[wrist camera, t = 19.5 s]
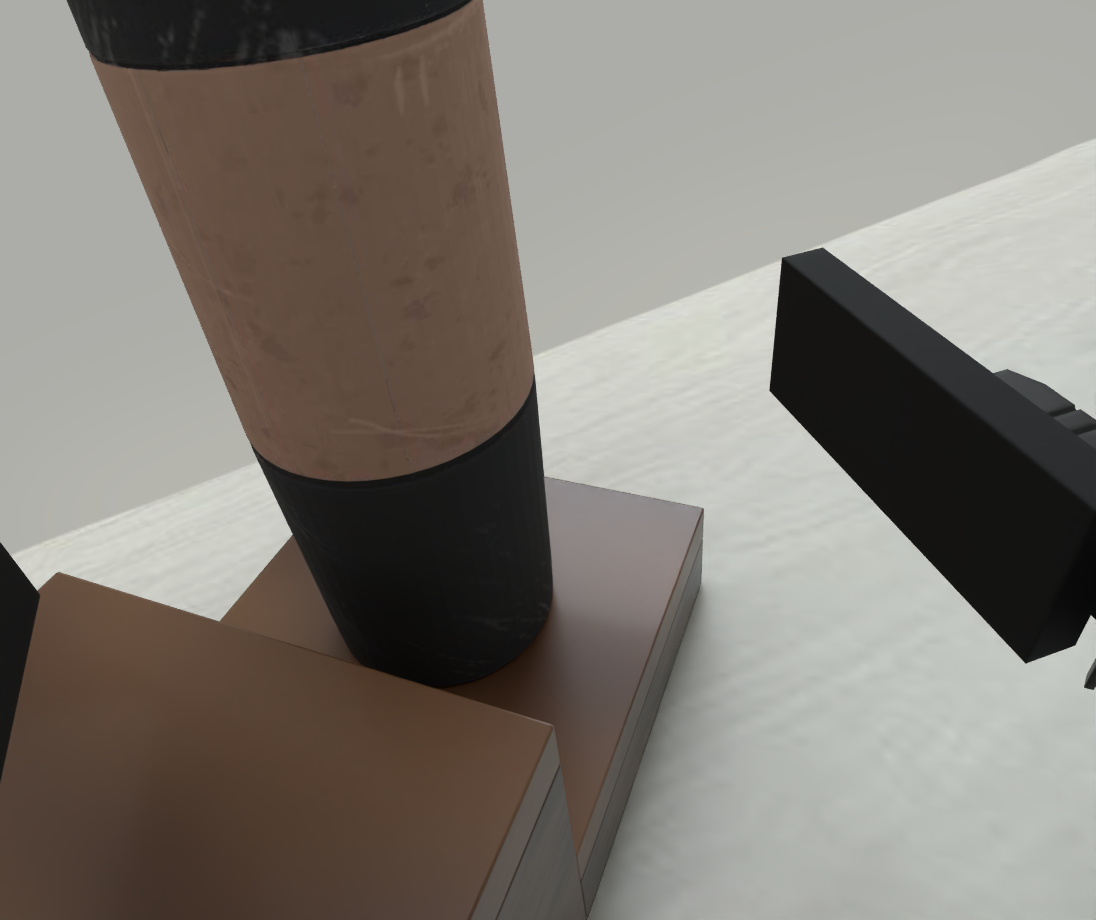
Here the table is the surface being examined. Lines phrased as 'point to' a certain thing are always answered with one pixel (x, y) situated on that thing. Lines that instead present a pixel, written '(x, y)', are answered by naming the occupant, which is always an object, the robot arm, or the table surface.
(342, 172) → the travel mug
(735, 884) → the table surface
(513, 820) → the walnut shelf
